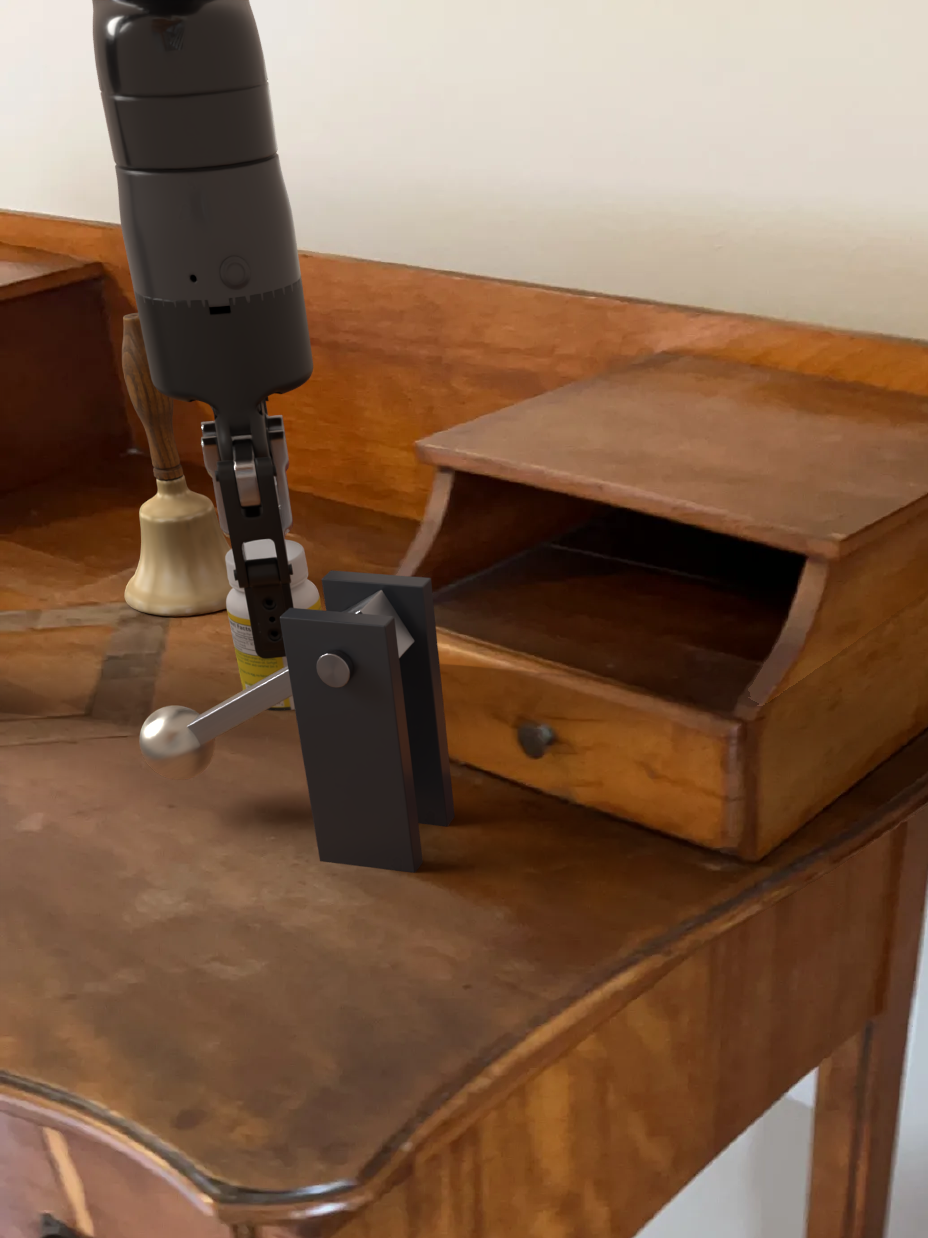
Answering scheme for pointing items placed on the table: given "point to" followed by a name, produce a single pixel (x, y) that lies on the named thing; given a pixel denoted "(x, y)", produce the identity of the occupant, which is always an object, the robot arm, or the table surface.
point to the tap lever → (229, 712)
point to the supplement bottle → (238, 615)
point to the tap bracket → (370, 720)
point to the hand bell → (170, 510)
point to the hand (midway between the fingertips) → (276, 627)
